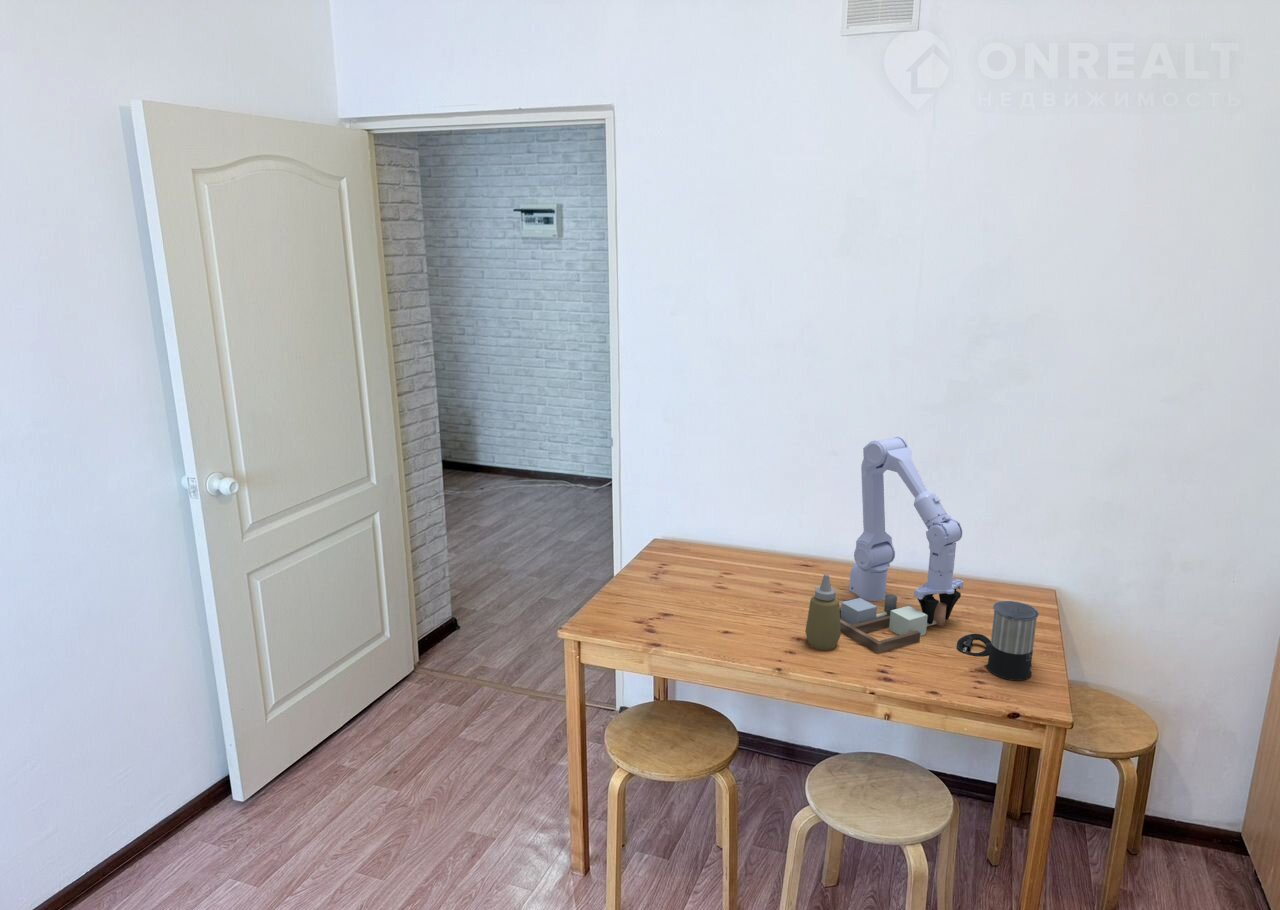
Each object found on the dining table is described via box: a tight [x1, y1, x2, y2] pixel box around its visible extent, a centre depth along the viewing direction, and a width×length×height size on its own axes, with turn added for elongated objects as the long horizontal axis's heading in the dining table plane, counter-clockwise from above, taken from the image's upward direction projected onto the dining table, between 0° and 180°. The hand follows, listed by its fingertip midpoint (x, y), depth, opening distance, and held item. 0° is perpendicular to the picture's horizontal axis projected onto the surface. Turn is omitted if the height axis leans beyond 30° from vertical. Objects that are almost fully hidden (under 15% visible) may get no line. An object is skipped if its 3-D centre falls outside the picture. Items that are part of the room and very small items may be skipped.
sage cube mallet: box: [888, 601, 947, 637], centre depth 199 cm, size 6×15×5 cm, turn 117°
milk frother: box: [956, 600, 1040, 681], centre depth 183 cm, size 14×16×15 cm
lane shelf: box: [839, 606, 921, 655], centre depth 201 cm, size 20×28×3 cm
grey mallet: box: [840, 593, 898, 625], centre depth 204 cm, size 6×15×5 cm, turn 117°
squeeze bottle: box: [804, 574, 841, 651], centre depth 190 cm, size 8×8×18 cm
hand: (936, 620), depth 202 cm, fingers closed on sage cube mallet, 5 cm apart
